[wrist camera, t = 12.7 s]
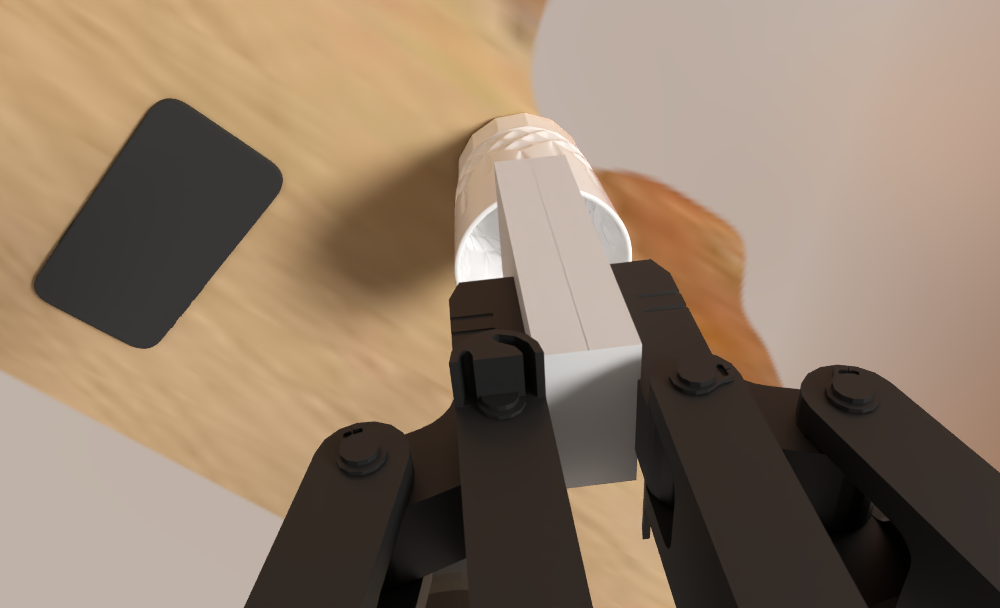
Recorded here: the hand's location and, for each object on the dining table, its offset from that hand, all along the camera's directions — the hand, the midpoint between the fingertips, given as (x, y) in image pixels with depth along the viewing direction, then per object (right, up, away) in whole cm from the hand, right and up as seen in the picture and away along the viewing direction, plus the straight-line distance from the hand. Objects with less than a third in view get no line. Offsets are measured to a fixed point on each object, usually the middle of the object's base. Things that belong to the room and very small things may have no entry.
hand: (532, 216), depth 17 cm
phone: (-20, +2, +26) cm, 33 cm away
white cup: (0, +5, +26) cm, 26 cm away
